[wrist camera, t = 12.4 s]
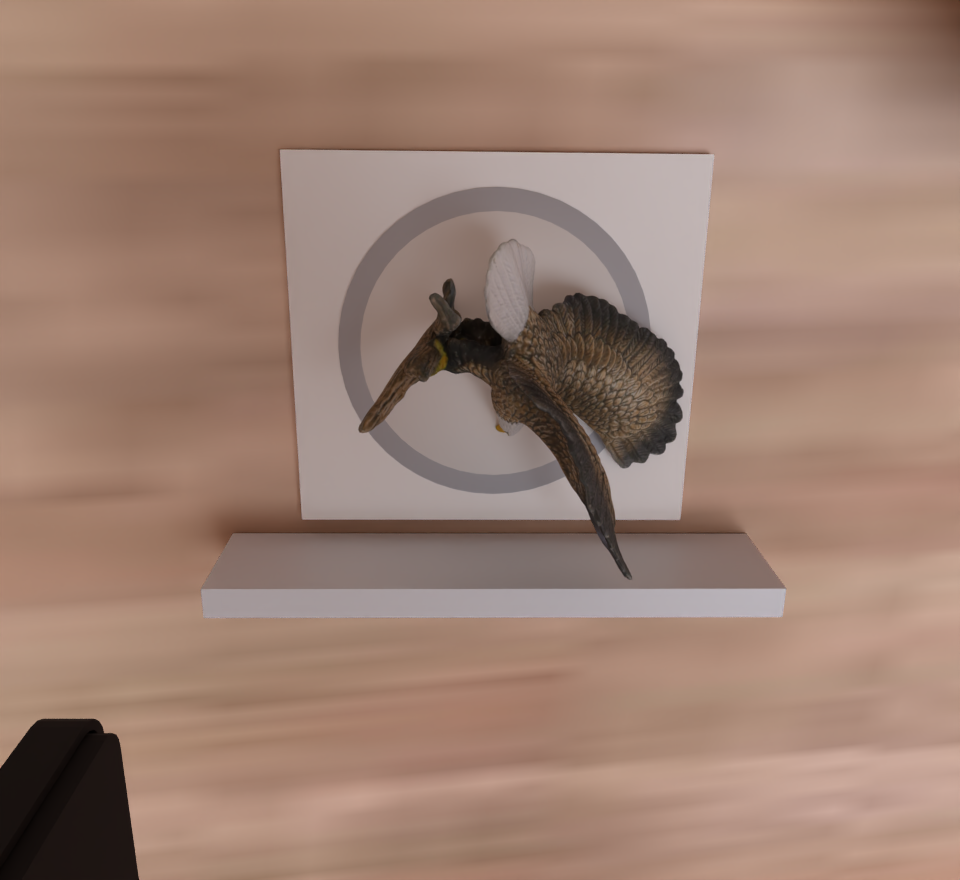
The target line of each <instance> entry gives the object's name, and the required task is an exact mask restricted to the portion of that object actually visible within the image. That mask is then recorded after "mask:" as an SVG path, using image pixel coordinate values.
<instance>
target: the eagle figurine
mask: <svg viewBox="0 0 960 880" xmlns="http://www.w3.org/2000/svg"><path fill="white" fill-rule="evenodd" d="M535 263H536V262H535V258H534V255H533V253H532V251H531V249H530V248H529V247H526V246H524V245H522V244H520V243H518V241H517V240H515V239H510V240H509V241H508V242H503V243H501V244H500V245H499V246H498V248H497V250H496V251H495V252H494V253H493V254H492V255H491V256H490V259H489V262H488V270H487V273H486V284H485V287H484V298H485V307H486V313H487V317H488V320H489V322H484V321H483V320H482V319H480V318H475V319H474V320H473V319H470V318H465V319H464V320H463V321H462V317H461V315H460V313H459V312H458V311H457V310H455V309H454V300H455V296H456V289H455V285H454V282H453V280H452V279H451V278H450V279H447V280H446V281H445V282H444V284H443V287H442V292H443V295H444V296H443V297H442V296H441V295H439V294H437V293H433V294H431V295H430V296H429V300H430V302H431V304H432V306H433V307H434V308H435V310H436V311H437V313H438V314H437V318H436V320H435V321H434V322H433V323H432V324H431V326H430V327H429V328H428V329H427V330H426V331H425V333H424V334H423V335H422V337H421V338H420V339H419V341H418V343H417V344H416V345H415V347H414V348H413V349H412V351H411V352H410V353H409V354H408V355H407V356H406V357H405V359H404V360H403V361H402V363H401V364H400V365H399V367H398V368H397V369H396V371H395V372H394V374H393V376H392V377H391V379H390V380H389V382H388V383H387V385H386V386H385V388H384V390H383V391H382V393H381V394H380V396H379V397H378V399H377V400H376V402H375V403H374V405H373V406H372V407H371V408H370V409H369V411H368V412H367V414H366V415H365V417H364V419H363V420H362V422H361V424H360V425H359V428H358V430H359V432H360V433H367V432H369V431H371V430H373V429H374V428H375V427H376V426H378V425H379V424H380V423H381V422H383V421H384V420H385V419H386V418H387V416H388V415H389V414H390V412H391V411H392V410H393V408H394V406H395V405H396V404H397V403H398V402H400V401H401V400H402V399H403V398H404V396H405V394H406V392H407V390H408V389H409V388H410V387H411V386H412V385H414V384H416V383H417V382H418V381H421V382H426V381H427V380H428V379H429V377H431V376H433V375H435V374H437V373H438V372H439V371H442V370H446V371H449V372H451V373H454V374H460V373H471V374H473V375H474V376H476V377H478V378H480V379H482V380H483V381H484V382H485V383H487V384H488V385H489V386H490V387H491V388H492V389H491V398H492V404H493V407H494V409H495V411H496V414H497V416H498V420H499V424H498V425H497V426H496V430H497V431H499V432H503V433H507V434H508V436H513V435H515V434H516V433H518V432H519V431H520V429H521V428H522V427H523V426H524V424H525V425H526V426H528V427H529V428H530V429H531V430H532V431H533V432H534V433H535V434H536V435H537V436H538V437H539V438H540V439H541V440H542V441H543V442H544V443H545V445H546V446H547V447H548V448H549V449H550V451H551V452H552V453H553V455H554V456H555V458H556V459H557V461H558V463H559V465H560V467H561V469H562V471H563V473H564V475H565V476H566V478H567V480H568V482H569V483H570V485H571V487H572V488H573V490H574V491H575V492H576V493H577V495H578V496H579V498H580V500H581V501H582V503H583V504H584V505H585V507H586V509H587V511H588V514H589V517H590V519H591V521H592V523H593V525H594V527H595V530H596V532H597V534H598V536H599V538H600V540H601V541H602V543H603V545H604V546H605V547H606V548H607V550H608V551H609V552H610V554H611V556H612V557H613V559H614V560H615V562H616V564H617V566H618V568H619V570H620V571H621V572H622V574H623V576H624V577H626V578H627V579H629V580H632V576H631V573H630V571H629V569H628V567H627V565H626V563H625V562H624V559H623V557H622V555H621V552H620V550H619V547H618V543H617V539H616V535H615V530H614V528H615V511H614V506H613V502H612V498H611V490H610V485H609V481H608V478H607V475H606V472H605V470H604V467H603V466H602V464H601V461H600V458H599V456H598V454H597V451H596V448H595V447H594V445H593V444H592V443H591V440H590V438H589V436H588V435H587V434H586V432H585V430H584V428H583V427H582V426H581V425H580V424H579V422H578V419H577V418H576V417H575V416H574V414H575V415H576V416H578V417H579V418H580V419H581V420H583V421H584V422H585V423H586V424H587V425H588V426H589V427H590V428H592V429H593V430H594V431H595V432H596V433H598V435H599V436H600V437H601V440H602V441H603V443H604V445H605V447H606V449H607V450H608V452H610V454H611V456H612V458H613V460H614V461H615V462H616V463H617V464H618V465H619V466H620V467H621V468H623V469H625V468H628V467H630V466H631V464H632V463H633V462H634V463H645V462H646V461H647V459H648V457H649V455H650V454H653V455H661V454H663V453H664V452H665V450H666V444H667V443H671V442H673V441H674V440H675V439H676V436H677V432H676V423H679V422H680V421H681V420H682V418H683V412H682V409H681V407H680V405H679V404H678V402H677V399H679V398H681V397H682V396H683V393H684V390H683V388H682V387H681V385H680V381H681V380H682V376H683V373H682V371H681V370H680V365H679V363H678V361H677V360H676V359H675V358H674V357H675V353H674V351H673V350H672V349H671V348H669V347H667V342H666V341H665V340H664V339H662V338H657V337H656V335H655V334H654V333H652V332H651V331H650V330H649V329H648V328H645V327H641V328H639V324H638V323H637V322H635V321H633V320H631V319H630V318H629V317H628V316H627V315H625V314H620V313H618V311H617V308H616V307H615V306H613V305H611V304H609V303H608V301H607V300H605V299H599V298H598V297H596V296H585V295H583V294H581V293H575V294H574V295H567V296H566V297H565V299H564V301H563V303H556V304H554V305H553V307H552V310H548V309H543V310H541V311H540V312H539V313H537V312H536V311H535V309H534V307H533V280H534V272H535ZM461 321H462V322H461ZM573 413H574V414H573Z"/></svg>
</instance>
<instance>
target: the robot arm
mask: <svg viewBox="0 0 960 880" xmlns="http://www.w3.org/2000/svg"><path fill="white" fill-rule="evenodd" d="M0 880H139V877H138V870H137V863H136V855H135V848H134V841H133V834H132V827H131V819H130V812H129V805H128V798H127V790H126V783H125V776H124V769H123V762H122V754H121V747H120V742H119V739H118V737H117V735H116V734H113V733H104V731H103V727H102V725H101V723H100V722H99V721H98V720H96V719H41V720H38V721H37V722H36V723H35V724H34V725H33V726H32V727H31V728H30V729H29V730H28V732H27V733H26V734H25V736H24V737H23V738H22V740H21V741H20V743H19V744H18V745H17V747H16V748H15V749H14V751H13V752H12V753H11V755H10V756H9V757H8V759H7V760H6V761H5V763H4V764H3V765H2V767H1V768H0Z"/></svg>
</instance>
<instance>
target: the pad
mask: <svg viewBox="0 0 960 880" xmlns="http://www.w3.org/2000/svg"><path fill="white" fill-rule="evenodd" d="M280 163H281V180H282V196H283V213H284V230H285V246H286V263H287V279H288V296H289V312H290V329H291V346H292V362H293V379H294V395H295V412H296V429H297V445H298V462H299V478H300V495H301V511H302V520H591V519H590V517H589V514H588V511H587V509H586V507H585V505H584V504H583V503H582V501H581V500H580V498H579V496H578V495H577V493H576V492H575V491H574V490H573V488H572V487H571V485H570V483H569V482H568V480H567V478H566V476H565V475H564V473H563V471H562V469H561V467H560V465H559V463H558V461H557V459H556V458H555V456H554V455H553V453H552V452H551V451H550V449H549V448H548V447H547V446H546V445H545V443H544V442H543V441H542V440H541V439H540V438H539V437H538V436H537V435H536V434H535V433H534V432H533V431H532V430H531V429H530V428H529V427H528V426H526V425H525V424H524V426H523V427H522V428H521V429H520V431H519V432H518V433H516V434H515V435H513V436H508V434H507V433H503V432H499V431H497V430H496V426H497V425H498V424H499V420H498V416H497V414H496V411H495V409H494V407H493V404H492V398H491V389H492V388H491V387H490V386H489V385H488V384H487V383H485V382H484V381H483V380H482V379H480V378H478V377H476V376H474V375H473V374H471V373H460V374H454V373H451V372H449V371H446V370H442V371H439V372H438V373H437V374H435V375H433V376H431V377H429V379H428V380H427V381H426V382H421V381H418V382H417V383H416V384H414V385H412V386H411V387H410V388H409V389H408V390H407V392H406V394H405V396H404V398H403V399H402V400H401V401H400V402H398V403H397V404H396V405H395V406H394V408H393V410H392V411H391V412H390V414H389V415H388V416H387V418H386V419H385V420H384V421H383V422H381V423H380V424H379V425H378V426H376V427H375V428H374V429H373V430H371V431H369V432H367V433H360V432H359V430H358V428H359V425H360V424H361V422H362V420H363V419H364V417H365V415H366V414H367V412H368V411H369V409H370V408H371V407H372V406H373V405H374V403H375V402H376V400H377V399H378V397H379V396H380V394H381V393H382V391H383V390H384V388H385V386H386V385H387V383H388V382H389V380H390V379H391V377H392V376H393V374H394V372H395V371H396V369H397V368H398V367H399V365H400V364H401V363H402V361H403V360H404V359H405V357H406V356H407V355H408V354H409V353H410V352H411V351H412V349H413V348H414V347H415V345H416V344H417V343H418V341H419V339H420V338H421V337H422V335H423V334H424V333H425V331H426V330H427V329H428V328H429V327H430V326H431V324H432V323H433V322H434V321H435V320H436V318H437V314H438V313H437V311H436V310H435V308H434V307H433V306H432V304H431V302H430V300H429V296H430V295H431V294H433V293H437V294H439V295H441V296H442V297H443V296H444V295H443V292H442V287H443V284H444V282H445V281H446V280H447V279H450V278H451V279H452V280H453V282H454V285H455V289H456V296H455V300H454V309H455V310H457V311H458V312H459V313H460V315H461V317H462V321H463V320H464V319H465V318H470V319H473V320H474V319H475V318H480V319H482V320H483V321H484V322H489V320H488V317H487V313H486V307H485V298H484V287H485V284H486V273H487V270H488V262H489V259H490V256H491V255H492V254H493V253H494V252H495V251H496V250H497V248H498V246H499V245H500V244H501V243H503V242H508V241H509V240H510V239H515V240H517V241H518V243H520V244H522V245H524V246H526V247H529V248H530V249H531V251H532V253H533V255H534V258H535V262H536V263H535V272H534V280H533V307H534V309H535V311H536V312H537V313H539V312H540V311H541V310H543V309H548V310H552V307H553V305H554V304H556V303H563V301H564V299H565V297H566V296H567V295H574V294H575V293H581V294H583V295H585V296H596V297H598V298H599V299H605V300H607V301H608V303H609V304H611V305H613V306H615V307H616V308H617V311H618V313H620V314H625V315H627V316H628V317H629V318H630V319H631V320H633V321H635V322H637V323H638V324H639V328H641V327H645V328H648V329H649V330H650V331H651V332H652V333H654V334H655V335H656V337H657V338H662V339H664V340H665V341H666V342H667V347H669V348H671V349H672V350H673V351H674V353H675V357H674V358H675V359H676V360H677V361H678V363H679V365H680V370H681V371H682V373H683V376H682V380H681V381H680V385H681V387H682V388H683V390H684V393H683V396H682V397H681V398H679V399H677V402H678V404H679V405H680V407H681V409H682V412H683V418H682V420H681V421H680V422H679V423H676V432H677V436H676V439H675V440H674V441H673V442H671V443H667V444H666V450H665V452H664V453H663V454H661V455H653V454H650V455H649V457H648V459H647V461H646V462H645V463H634V462H633V463H632V464H631V466H630V467H628V468H625V469H623V468H621V467H620V466H619V465H618V464H617V463H616V462H615V461H614V460H613V458H612V456H611V454H610V452H608V450H607V449H606V447H605V445H604V443H603V441H602V440H601V437H600V436H599V435H598V433H596V432H595V431H594V430H593V429H592V428H590V427H589V426H588V425H587V424H586V423H585V422H584V421H583V420H581V419H580V418H579V417H578V416H576V415H575V414H574V413H573V414H574V416H575V417H576V418H577V419H578V422H579V424H580V425H581V426H582V427H583V428H584V430H585V432H586V434H587V435H588V436H589V438H590V440H591V443H592V444H593V445H594V447H595V448H596V451H597V454H598V456H599V458H600V461H601V464H602V466H603V467H604V470H605V472H606V475H607V478H608V481H609V485H610V490H611V498H612V502H613V506H614V511H615V520H680V518H681V507H682V496H683V485H684V475H685V464H686V453H687V443H688V432H689V421H690V410H691V400H692V389H693V378H694V368H695V357H696V346H697V336H698V325H699V314H700V303H701V293H702V282H703V271H704V261H705V250H706V239H707V228H708V218H709V207H710V196H711V186H712V175H713V164H714V154H648V153H560V152H471V151H382V150H294V149H280ZM462 321H461V322H462Z"/></svg>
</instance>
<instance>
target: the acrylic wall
mask: <svg viewBox="0 0 960 880" xmlns="http://www.w3.org/2000/svg"><path fill="white" fill-rule="evenodd" d="M615 535H616V539H617V543H618V547H619V550H620V552H621V555H622V557H623V559H624V562H625V563H626V565H627V567H628V569H629V571H630V573H631V576H632V580H629V579H627V578H626V577H624V576H623V574H622V572H621V571H620V570H619V568H618V566H617V564H616V562H615V560H614V559H613V557H612V556H611V554H610V552H609V551H608V550H607V548H606V547H605V546H604V545H603V543H602V541H601V540H600V538H599V536H598V534H597V533H233V534H232V536H231V537H230V539H229V541H228V543H227V544H226V546H225V548H224V550H223V551H222V553H221V555H220V556H219V558H218V560H217V562H216V563H215V565H214V567H213V569H212V570H211V572H210V574H209V576H208V577H207V579H206V581H205V583H204V584H203V586H202V588H201V597H202V607H203V616H204V618H541V617H782V616H783V609H784V602H785V595H786V588H785V586H784V585H783V583H782V582H781V581H780V579H779V578H778V577H777V575H776V574H775V572H774V571H773V570H772V568H771V567H770V565H769V564H768V563H767V561H766V560H765V559H764V557H763V556H762V554H761V553H760V552H759V550H758V549H757V548H756V546H755V545H754V543H753V542H752V541H751V539H750V538H749V537H748V535H747V534H653V533H615Z"/></svg>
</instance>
